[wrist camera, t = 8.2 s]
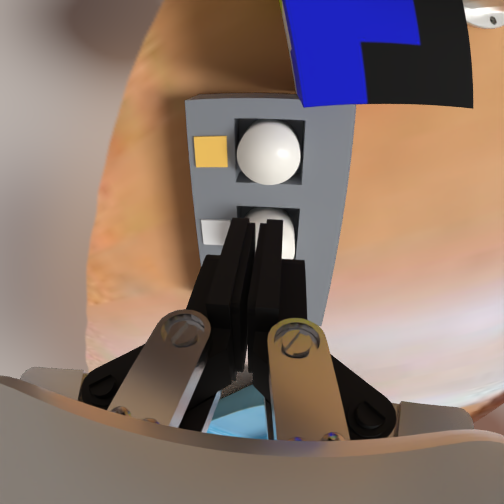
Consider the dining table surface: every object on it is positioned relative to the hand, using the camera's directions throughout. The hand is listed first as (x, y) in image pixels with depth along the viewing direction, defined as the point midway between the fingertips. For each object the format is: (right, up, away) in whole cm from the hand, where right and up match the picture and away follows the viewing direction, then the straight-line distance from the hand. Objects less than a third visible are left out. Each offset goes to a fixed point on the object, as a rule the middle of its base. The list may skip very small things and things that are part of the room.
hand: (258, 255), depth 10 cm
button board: (+1, +4, +18) cm, 18 cm away
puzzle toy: (+7, +18, +8) cm, 21 cm away
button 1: (+1, +9, +13) cm, 15 cm away
